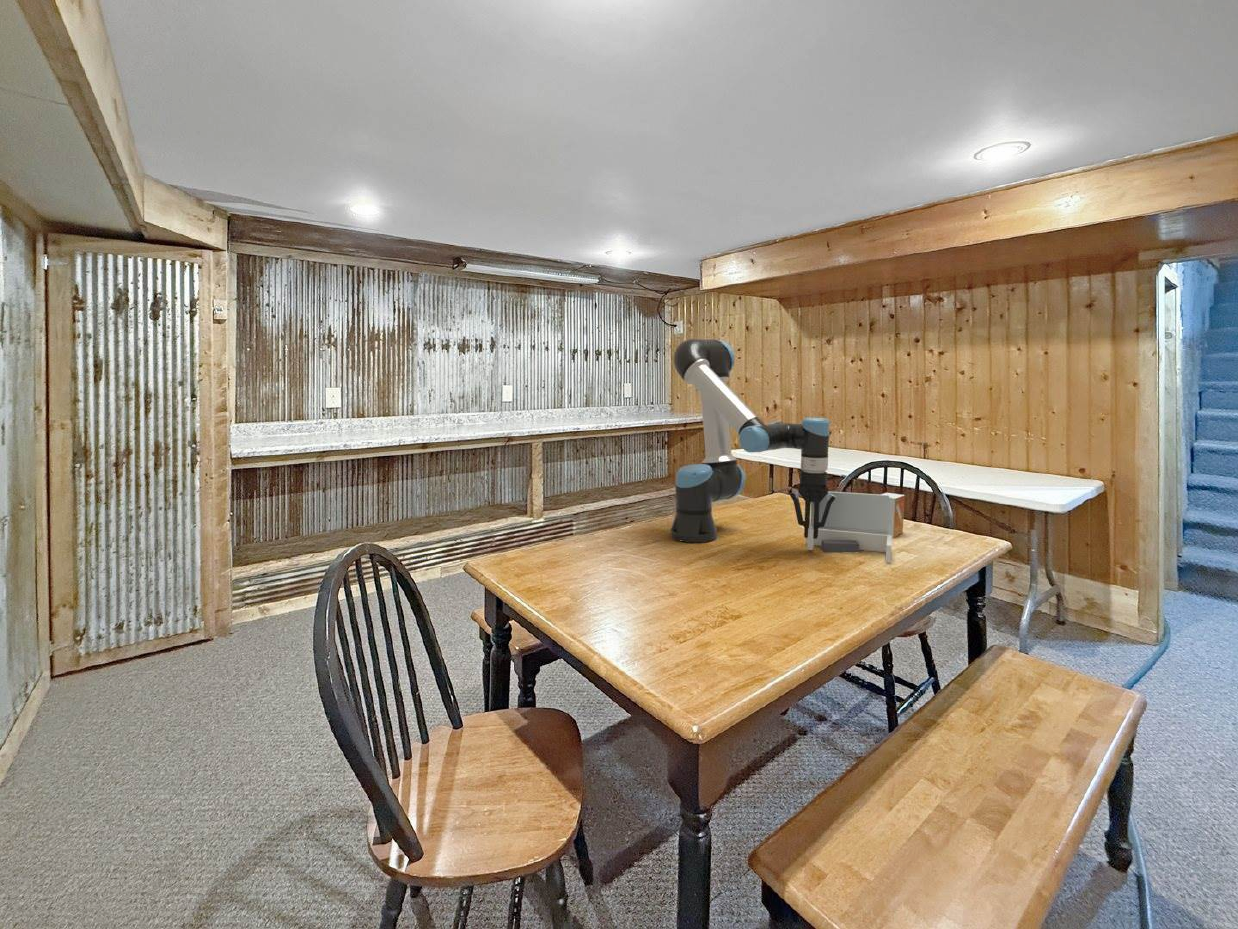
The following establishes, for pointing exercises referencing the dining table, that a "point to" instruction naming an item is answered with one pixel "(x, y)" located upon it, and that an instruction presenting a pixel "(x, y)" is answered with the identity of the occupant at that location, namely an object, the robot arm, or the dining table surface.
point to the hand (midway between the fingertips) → (810, 548)
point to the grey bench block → (858, 540)
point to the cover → (855, 513)
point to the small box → (895, 514)
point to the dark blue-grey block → (839, 546)
